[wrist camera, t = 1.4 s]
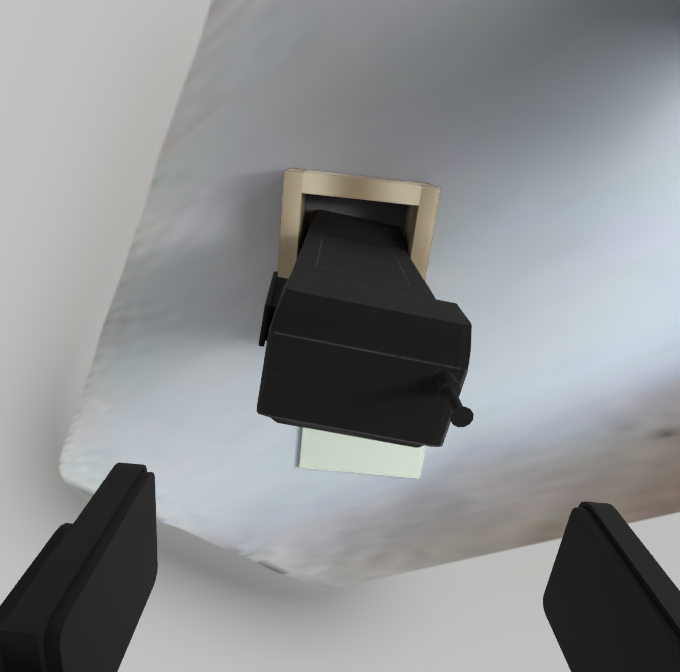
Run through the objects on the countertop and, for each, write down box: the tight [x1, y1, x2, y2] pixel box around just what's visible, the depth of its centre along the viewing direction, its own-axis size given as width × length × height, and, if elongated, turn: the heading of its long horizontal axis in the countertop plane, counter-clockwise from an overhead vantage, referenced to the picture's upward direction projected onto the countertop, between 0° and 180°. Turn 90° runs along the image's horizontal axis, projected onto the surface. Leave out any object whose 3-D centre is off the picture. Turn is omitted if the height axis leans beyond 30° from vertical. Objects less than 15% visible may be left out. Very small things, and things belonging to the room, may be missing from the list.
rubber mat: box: [299, 427, 426, 479], centre depth 43 cm, size 11×11×1 cm
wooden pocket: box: [278, 168, 441, 281], centre depth 36 cm, size 10×12×5 cm
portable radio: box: [257, 210, 473, 448], centre depth 26 cm, size 8×6×25 cm
